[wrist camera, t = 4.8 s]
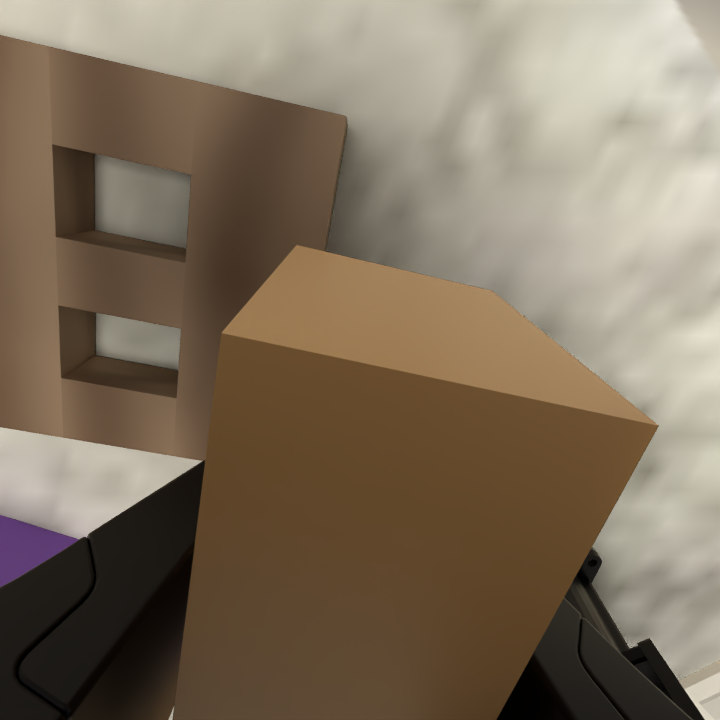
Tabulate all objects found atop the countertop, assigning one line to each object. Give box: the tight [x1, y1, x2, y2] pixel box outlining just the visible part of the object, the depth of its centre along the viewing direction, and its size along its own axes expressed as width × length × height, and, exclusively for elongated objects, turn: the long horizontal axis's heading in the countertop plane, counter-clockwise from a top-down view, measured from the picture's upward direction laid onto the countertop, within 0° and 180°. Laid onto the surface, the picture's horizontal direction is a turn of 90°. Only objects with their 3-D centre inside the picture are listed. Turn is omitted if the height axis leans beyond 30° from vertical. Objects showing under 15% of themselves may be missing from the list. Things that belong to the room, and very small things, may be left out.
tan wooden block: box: [173, 245, 659, 720], centre depth 7 cm, size 3×8×6 cm, turn 167°
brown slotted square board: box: [0, 35, 348, 461], centre depth 17 cm, size 14×14×2 cm
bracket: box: [0, 515, 79, 587], centre depth 22 cm, size 12×7×7 cm, turn 66°
